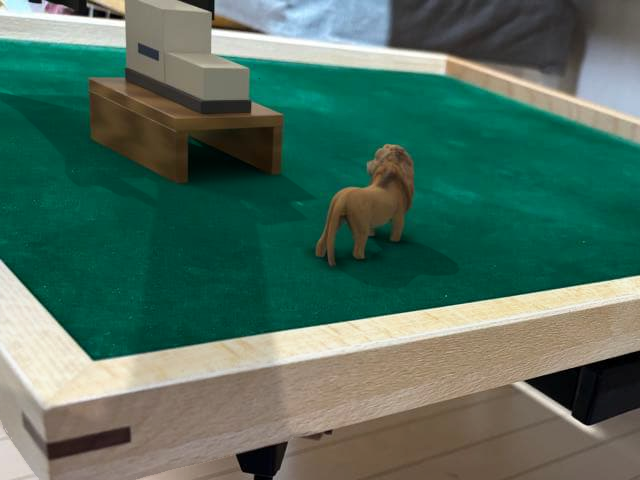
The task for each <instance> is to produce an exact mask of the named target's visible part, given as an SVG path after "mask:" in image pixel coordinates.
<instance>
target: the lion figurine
mask: <svg viewBox="0 0 640 480" xmlns="http://www.w3.org/2000/svg"><path fill="white" fill-rule="evenodd" d="M414 169H415V167H414V161H413V160H412V157H411V155H410V154H409V153H408V151H406V149H405V148H404V147H402V146H400V145H398V144H389V143H386V144H384V145H383V146H382V148H379V149H377V151H376V152H375V153H374V159H373V160H370V161H367V163H366V171H367V172H366V173H367V174H368V175H369V176H370V180H369V185H368V186H366V187H358V186H348V187H344V188H342V189H340V190H339V191H338V192H337V193H335V195H334V196H333V197H332V200H331V202H330V205H329V209H328V212H327V217H326V222H325V227H324V230H323V232H322V235H321V237H320V238H319V239H318V242H317V243H316V246H315V247H316V248H315V256H316V257H319V258H324V257H325V256H326V251H327V260H328V261H327V262H328V264H329V266H330V267H334V266H337V264H336V260H335V240H336V234H337V233H338V232H339V231H340V229H341V228H342V227H343V225H344V224H345V223H346V224H347V226H348V228H349V229H350V232H351V235H352V239H353V249H352V256H353V257H354V259H357V260H359V259H360V260H362V259H363V260H364V259H365V248H366V244H367V241H368V237H375V236H376V228H379V227H381V226H384V225H386V224H387V223H390V227H391V228H390V229H391V230H390V231H391V232H390V236H389V241H390V242H399V241H400V239H401V238H402V232H403V229H404V225H405V214H406V213H407V212H408V211H409V210H411V209H412V206H413V197H414V196H415V180H414V178H415V172H414Z"/></svg>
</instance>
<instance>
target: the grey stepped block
mask: <svg viewBox="0 0 640 480" xmlns="http://www.w3.org/2000/svg"><path fill="white" fill-rule="evenodd" d="M212 22H213V20H212V13H211V12H209V11H206V10H203V9H201V8H198V7H195V6H192V5H189V4H186V3H184V2H181V1H178V0H124V28H125V58H126V67H124V78H125V80H127V81H129V82H131V83H134V84H136V85H138V86H140V87H142V88H145V89H147V90H149V91H151V92H154V93H156V94H158V95H160V96H163V97H165V98H167V99H169V100H172V101H174V102H176V103H178V104H180V105H183V106H185V107H187V108H189V109H192V110H194V111H196V112H198V113H201V114H218V113H251V106H252V102H253V101H252V99H250V97H249V95H250V68H249V67H247V66H244V65H241V64H239V63H237V62H234V61H231V60H230V59H226V58H224V57H222V56H219V55H216V54H213V53H212V31H213V29H212V26H213V25H212V24H213V23H212Z"/></svg>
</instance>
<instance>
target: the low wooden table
mask: <svg viewBox="0 0 640 480" xmlns="http://www.w3.org/2000/svg"><path fill="white" fill-rule="evenodd" d="M87 81H88V104H89V121H90V122H89V125H90V138H91V140H92V141H94V142H96V143H98V144H100V145H102V146H104V147H106V148H108V149H110V150H112V151H113V152H116V153H118V154H119V155H122V156H123V157H125V158H127V159H129V160H131V161H133V162H135V163H137V164H138V165H141V166H143V167H144V168H147V169H148V170H150V171H153V172H154V173H156V174H158V175H159V176H162V177H164V178H165V179H168V180H169V181H171V182H173V183H175V184H183V183H188V182H189V137H192V138H194V139H195V140H197V141H200V142H201V143H204V144H206V145H209V146H211V147H212V148H215V149H216V150H219V151H220V152H223V153H224V154H228V155H229V156H232V157H234V158H236V159H238V160H240V161H243V162H244V163H246V164H249V165H251V166H252V167H255V168H257V169H259V170H261V171H263V172H266V173H268V174H269V175H281V174H282V161H283V160H282V157H283V138H284V122H285V121H284V119H285V115H284V114H283V113H280V112H278V111H275V110H274V109H271V108H268V107H266V106H263V105H262V104H259V103H256V102H254V101H252V106H251V113H218V114H201V113H198V112H196V111H194V110H192V109H189V108H187V107H185V106H183V105H180V104H178V103H176V102H174V101H172V100H169V99H167V98H165V97H163V96H160V95H158V94H156V93H154V92H151V91H149V90H147V89H145V88H142V87H140V86H138V85H136V84H134V83H131V82H129V81H127V80H125V77H88V80H87Z"/></svg>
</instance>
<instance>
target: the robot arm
mask: <svg viewBox="0 0 640 480" xmlns="http://www.w3.org/2000/svg"><path fill="white" fill-rule="evenodd" d="M44 1H45V2H48V3H50V4H53V5H57V6H58V5H59V6H63V7H65V8H69V9H71V10H73V11H76V12H78V13H88V3H87V2H88V0H44ZM178 1H181V2H184V3H186V4H189V5H192V6H195V7H198V8H201V9H203V10H206V11H209V12H211V13H212V21H215V18H216V17H215V15H216V13H215V12H216V10H215V9H216V0H178ZM27 2H28V3H30V4H36V5H42V4H43V0H27Z"/></svg>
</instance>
